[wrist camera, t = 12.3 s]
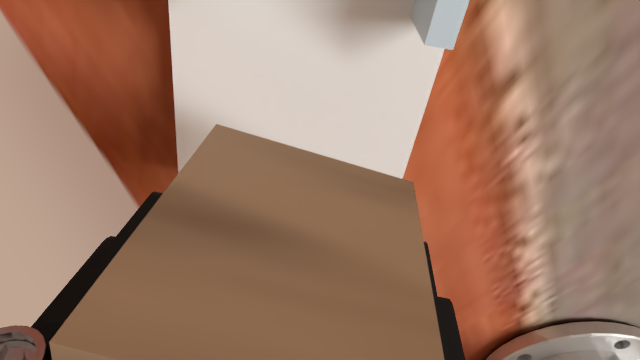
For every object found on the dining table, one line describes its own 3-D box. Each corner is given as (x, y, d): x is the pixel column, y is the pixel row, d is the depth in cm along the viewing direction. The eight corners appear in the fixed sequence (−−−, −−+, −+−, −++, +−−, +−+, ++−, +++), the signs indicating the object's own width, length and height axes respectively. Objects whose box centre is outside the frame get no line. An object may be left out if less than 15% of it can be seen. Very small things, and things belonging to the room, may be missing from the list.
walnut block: (350, 308, 13) (339, 563, 8) (195, 266, 12) (75, 503, 7) (413, 182, 10) (459, 446, 5) (216, 123, 10) (48, 342, 5)
